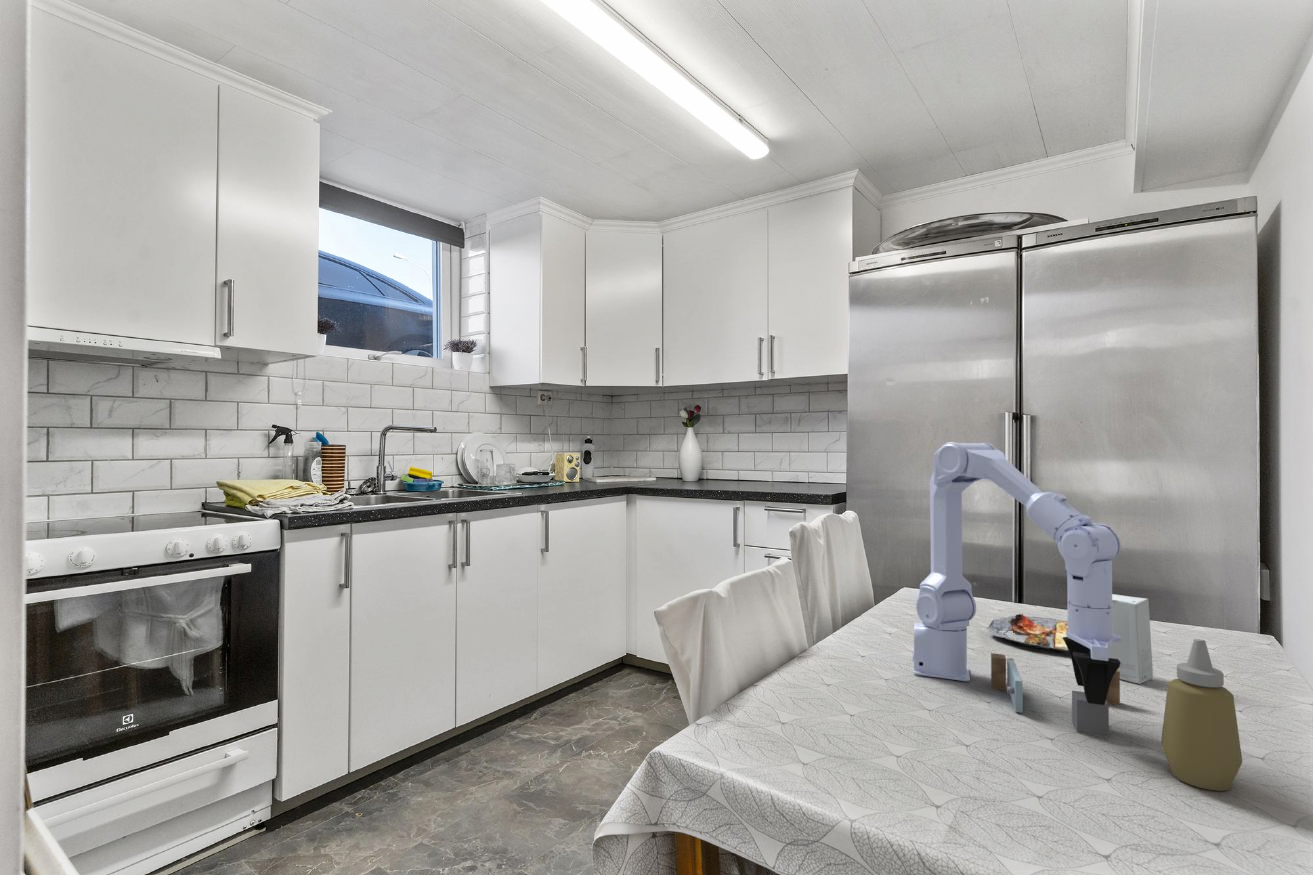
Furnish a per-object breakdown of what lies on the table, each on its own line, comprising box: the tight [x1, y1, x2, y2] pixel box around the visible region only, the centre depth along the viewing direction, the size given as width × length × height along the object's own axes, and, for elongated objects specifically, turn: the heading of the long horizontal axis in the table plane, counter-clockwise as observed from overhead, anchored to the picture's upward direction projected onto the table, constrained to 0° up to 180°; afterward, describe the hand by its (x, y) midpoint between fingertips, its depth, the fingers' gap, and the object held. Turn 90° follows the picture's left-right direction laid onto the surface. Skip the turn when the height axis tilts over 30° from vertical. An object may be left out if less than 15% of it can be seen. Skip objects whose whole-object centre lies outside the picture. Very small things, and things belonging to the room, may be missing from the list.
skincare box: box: [1108, 593, 1154, 685], centre depth 123 cm, size 8×6×15 cm
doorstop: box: [1071, 690, 1110, 738], centre depth 99 cm, size 4×4×5 cm
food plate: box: [986, 613, 1069, 653], centre depth 145 cm, size 25×23×4 cm
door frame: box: [990, 652, 1121, 706], centre depth 113 cm, size 19×2×6 cm, turn 66°
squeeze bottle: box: [1160, 638, 1243, 792], centre depth 84 cm, size 8×8×18 cm
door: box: [1006, 657, 1024, 714], centre depth 111 cm, size 12×2×5 cm, turn 157°
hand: (1090, 694), depth 99 cm, fingers open, 7 cm apart
